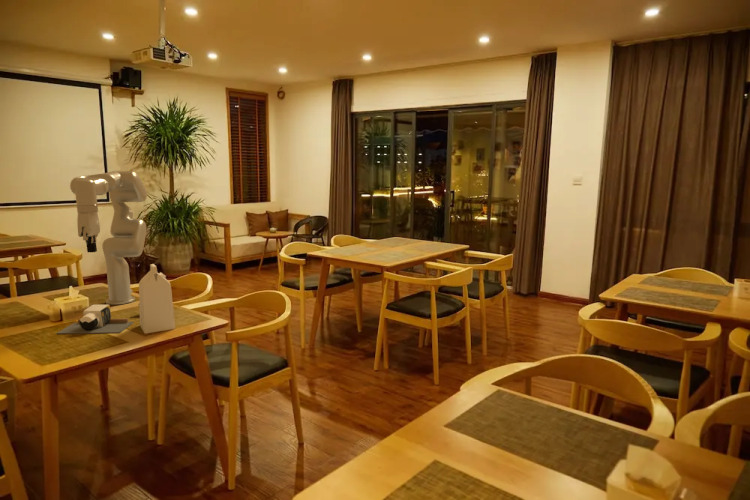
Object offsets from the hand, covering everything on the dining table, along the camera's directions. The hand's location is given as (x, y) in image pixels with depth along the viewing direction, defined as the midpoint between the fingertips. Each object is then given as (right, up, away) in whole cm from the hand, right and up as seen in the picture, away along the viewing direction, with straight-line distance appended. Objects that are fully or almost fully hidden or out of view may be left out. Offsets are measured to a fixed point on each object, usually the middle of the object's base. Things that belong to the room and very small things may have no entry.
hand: (92, 251), depth 210 cm
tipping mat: (+7, -31, -9) cm, 33 cm away
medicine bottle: (+6, -25, -3) cm, 26 cm away
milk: (+31, -31, -7) cm, 44 cm away
